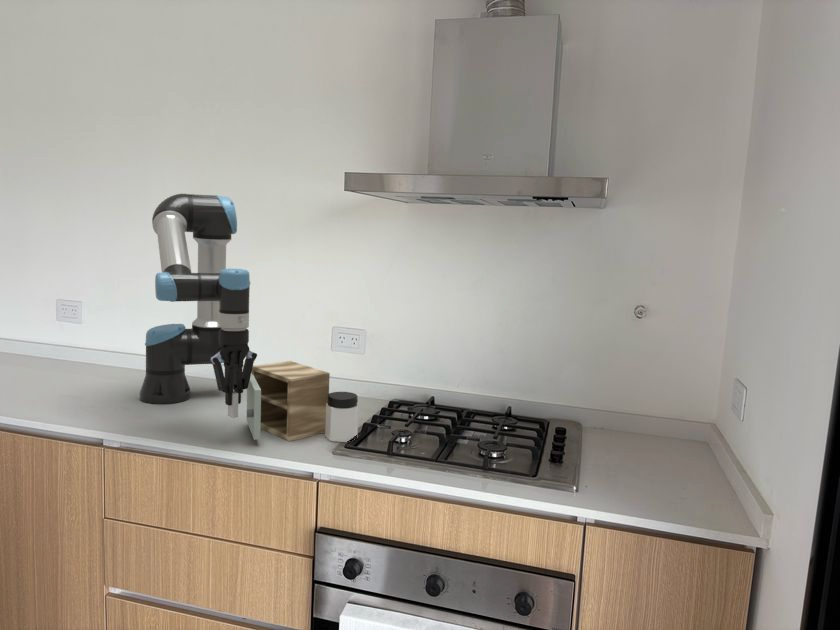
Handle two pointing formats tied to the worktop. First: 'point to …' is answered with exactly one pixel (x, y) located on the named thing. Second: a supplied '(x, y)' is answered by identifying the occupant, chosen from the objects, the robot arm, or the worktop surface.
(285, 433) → the cabinet
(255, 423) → the door
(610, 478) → the worktop surface
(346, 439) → the jar
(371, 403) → the worktop surface
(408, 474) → the worktop surface
